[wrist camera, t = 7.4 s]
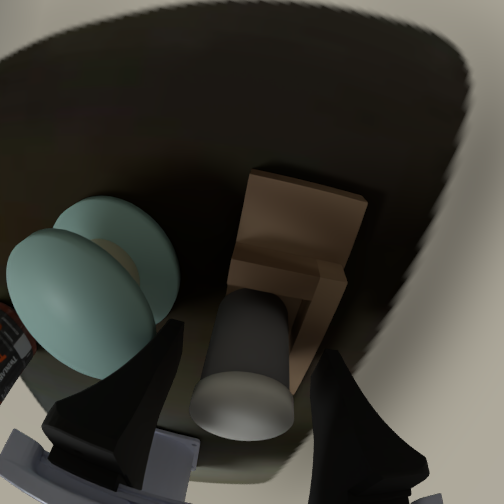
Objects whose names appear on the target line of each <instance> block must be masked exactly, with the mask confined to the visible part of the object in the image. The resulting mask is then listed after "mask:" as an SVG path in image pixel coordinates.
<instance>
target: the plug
mask: <svg viewBox="0 0 504 504" xmlns="http://www.w3.org/2000/svg"><path fill="white" fill-rule="evenodd" d="M189 413H190V416H191V418H192V419H193V421H194V422H195V423H196V424H197V425H199V426H200V427H201V428H203V429H204V430H206V431H208V432H210V433H212V434H215V435H217V436H220V437H224V438H228V439H233V440H240V441H258V440H266V439H270V438H274V437H276V436H279V435H281V434H283V433H285V432H286V431H287V430H288V429H290V427H291V426H292V424H293V422H294V399H293V396H292V393H291V392H290V381H289V332H288V311H287V308H286V306H285V304H284V303H283V301H282V300H281V299H280V298H279V297H278V296H276V295H275V294H273V293H269V292H264V291H259V290H254V289H249V288H242V289H238V290H235V291H233V292H231V293H230V294H228V295H227V296H226V297H225V298H224V299H223V300H222V301H221V303H220V306H219V309H218V313H217V316H216V320H215V324H214V328H213V332H212V336H211V340H210V344H209V348H208V351H207V355H206V359H205V363H204V367H203V371H202V375H201V379H200V381H199V382H198V383H197V384H196V386H195V388H194V391H193V395H192V398H191V402H190V406H189Z"/></svg>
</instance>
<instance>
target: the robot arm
mask: <svg viewBox="0 0 504 504" xmlns="http://www.w3.org/2000/svg"><path fill="white" fill-rule="evenodd" d="M183 332H184V322H182V321H178V320H174V319H169V320H168V321H167V322H166V324H165V325H164V326H163V327H162V329H161V330H160V331H159V332H158V333H157V334H156V335H155V336H154V337H153V338H152V339H151V341H150V342H149V343H148V344H147V345H146V346H145V347H144V348H142V349H141V350H140V351H139V352H138V353H137V354H136V355H135V356H134V357H132V358H131V359H130V360H129V361H128V362H127V363H125V364H124V365H123V366H122V367H120V368H119V369H118V370H116V371H115V372H113V373H112V374H110V375H109V376H107V377H106V378H104V379H103V380H101V381H100V382H98V383H96V384H94V385H92V386H91V387H89V388H87V389H85V390H83V391H81V392H79V393H77V394H74V395H72V396H69V397H67V398H64V399H62V400H59V401H57V402H55V404H54V405H53V407H52V408H51V409H50V411H49V412H48V414H47V416H46V418H45V420H44V422H43V424H42V430H43V432H44V433H45V435H46V436H47V437H48V439H49V440H50V441H51V442H52V443H53V447H52V449H51V452H50V453H49V452H47V451H45V450H44V449H43V447H42V446H41V445H40V444H39V443H38V442H36V441H35V440H33V439H32V438H30V437H28V436H27V435H25V434H23V433H22V432H20V431H18V430H17V429H13V431H12V433H11V434H10V436H9V439H8V440H7V442H6V444H5V446H4V448H3V450H2V452H1V454H0V476H1V477H2V478H4V479H5V480H7V481H8V482H9V483H11V484H12V485H14V486H15V487H17V488H18V489H20V490H21V491H23V492H24V493H26V494H27V495H29V496H31V497H32V498H34V499H36V500H38V501H39V502H41V503H43V504H191V503H186V502H184V501H185V496H186V492H187V487H188V482H189V477H190V472H191V470H192V471H195V470H196V466H197V460H198V453H199V447H200V440H199V439H197V438H193V437H189V436H184V435H180V434H176V433H172V432H168V431H165V430H161V429H157V428H156V425H157V422H158V418H159V415H160V412H161V410H162V407H163V405H164V402H165V400H166V397H167V395H168V392H169V390H170V387H171V385H172V382H173V380H174V378H175V375H176V373H177V369H178V366H179V362H180V358H181V355H182V347H183ZM310 399H311V411H312V422H313V433H314V454H313V469H312V480H311V488H310V495H309V501H308V504H409V499H408V496H411V488H412V487H414V486H416V485H417V484H419V483H420V482H422V481H424V480H425V479H426V478H427V477H428V476H429V468H428V464H427V460H426V457H425V456H423V455H422V454H420V453H419V452H418V451H416V450H414V449H413V448H412V447H411V446H409V445H408V444H407V443H406V442H405V441H404V440H402V439H401V438H400V437H399V436H398V435H397V434H396V433H395V432H394V431H393V430H392V429H391V428H390V427H389V426H388V425H387V424H386V423H385V422H384V421H383V420H382V418H381V417H380V416H379V415H378V413H377V412H376V411H375V410H374V408H373V407H372V406H371V404H370V403H369V402H368V400H367V399H366V397H365V396H364V394H363V393H362V391H361V390H360V388H359V387H358V385H357V383H356V381H355V380H354V378H353V376H352V375H351V373H350V371H349V369H348V368H347V366H346V364H345V362H344V360H343V359H342V357H341V355H340V353H339V352H338V350H330V349H325V351H324V353H323V355H322V357H321V359H320V360H319V362H318V364H317V366H316V368H315V370H314V372H313V374H312V375H311V386H310ZM411 504H443V500H442V495H441V494H440V493H439V494H435V495H431V496H427V497H423V498H420V499H418V500H416V501H414V502H412V503H411Z"/></svg>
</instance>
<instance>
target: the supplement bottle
mask: <svg viewBox="0 0 504 504" xmlns="http://www.w3.org/2000/svg"><path fill="white" fill-rule="evenodd" d="M36 350H37V345H36V340H35V338H34V337H33V336H32V335H31V334H30V332H29V331H28V330H27V328H26V327H25V325H24V324H23V322H22V321H21V319H20V317H19V316H18V314H17V312H16V311H15V310H14V309H12V308H11V307H9V306H8V305H6V304H4V303H1V302H0V405H1V403H2V401H3V400H4V398H5V397H6V395H7V394H8V392H9V391H10V389H11V388H12V386H13V385H14V383H15V382H16V380H17V379H18V377H19V376H20V374H21V373H22V372H23V370H24V369H25V368H26V366H27V365H28V363H29V362H30V360H31V359H32V357H33V356H34V354H35V353H36Z"/></svg>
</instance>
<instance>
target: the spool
mask: <svg viewBox="0 0 504 504" xmlns="http://www.w3.org/2000/svg"><path fill="white" fill-rule="evenodd" d="M6 275H7V285H8V290H9V294H10V297H11V300H12V303H13V305H14V308H15V310H16V312H17V314H18V316H19V317H20V319H21V321H22V322H23V324H24V325H25V327H26V328H27V330H28V331H29V332H30V334H31V335H32V336H33V337H34V338H35V339H36V341H37V342H38V343H39V344H40V345H41V346H42V347H43V348H44V349H45V350H47V351H48V352H49V353H50V354H51V355H52V356H54V357H55V358H56V359H58V360H59V361H61V362H62V363H64V364H65V365H67V366H69V367H70V368H72V369H74V370H76V371H78V372H80V373H83V374H85V375H88V376H91V377H94V378H98V379H104V378H106V377H107V376H109V375H110V374H112V373H113V372H115V371H116V370H118V369H119V368H120V367H122V366H123V365H124V364H125V363H127V362H128V361H129V360H130V359H131V358H132V357H134V356H135V355H136V354H137V353H138V352H139V351H140V350H141V349H142V348H144V347H145V346H146V345H147V344H148V343H149V342H150V341H151V339H152V338H153V337H154V336H155V335H156V324H157V323H159V322H160V321H161V320H163V319H164V318H165V317H166V316H167V314H168V313H169V312H170V310H171V308H172V306H173V304H174V302H175V300H176V297H177V295H178V292H179V288H180V282H181V273H180V266H179V261H178V258H177V254H176V252H175V250H174V247H173V245H172V243H171V241H170V240H169V238H168V236H167V235H166V233H165V232H164V231H163V229H162V228H161V227H160V226H159V224H158V223H157V222H156V221H155V220H154V219H153V218H152V217H151V216H149V215H148V214H147V213H146V212H144V211H143V210H142V209H140V208H139V207H137V206H135V205H134V204H132V203H130V202H128V201H125V200H123V199H120V198H116V197H112V196H93V197H88V198H85V199H83V200H81V201H79V202H77V203H76V204H74V205H73V206H71V207H70V208H68V209H67V210H65V211H64V212H63V213H62V214H61V215H60V217H59V218H58V219H57V221H56V223H55V225H54V227H53V228H47V229H43V230H39V231H37V232H34V233H32V234H31V235H30V236H28V237H27V238H26V239H24V240H23V241H22V242H21V243H19V244H18V245H17V246H16V247H15V248H14V249H13V251H12V252H11V254H10V256H9V260H8V263H7V271H6Z"/></svg>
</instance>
